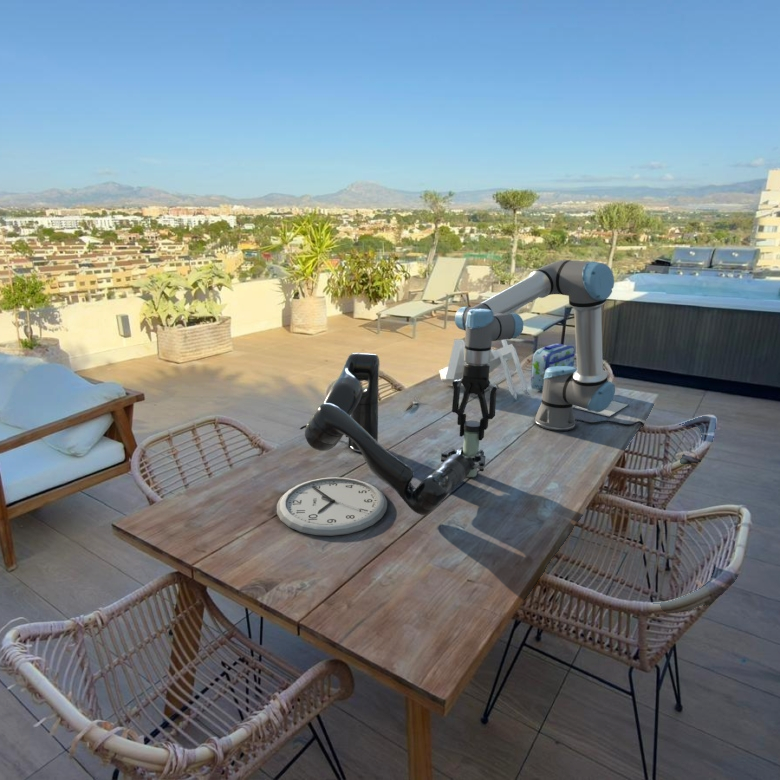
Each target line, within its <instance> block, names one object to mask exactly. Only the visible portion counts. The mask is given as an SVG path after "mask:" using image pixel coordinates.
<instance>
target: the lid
mask: <svg viewBox="0 0 780 780" xmlns="http://www.w3.org/2000/svg"><path fill="white" fill-rule="evenodd" d="M463 429H464V430H465V431H467V432H479V429H480V421H478V420H471V419H470V420H466V421H465V422H464V425H463Z"/></svg>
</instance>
